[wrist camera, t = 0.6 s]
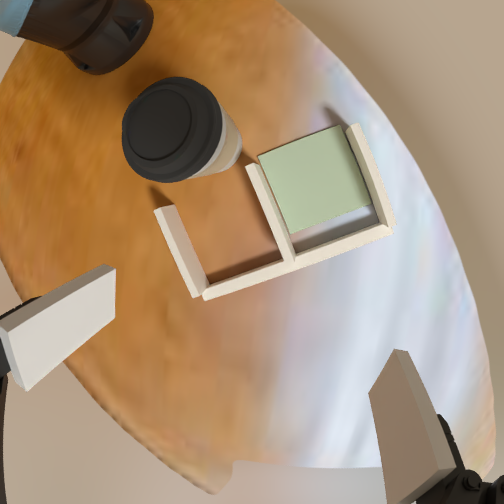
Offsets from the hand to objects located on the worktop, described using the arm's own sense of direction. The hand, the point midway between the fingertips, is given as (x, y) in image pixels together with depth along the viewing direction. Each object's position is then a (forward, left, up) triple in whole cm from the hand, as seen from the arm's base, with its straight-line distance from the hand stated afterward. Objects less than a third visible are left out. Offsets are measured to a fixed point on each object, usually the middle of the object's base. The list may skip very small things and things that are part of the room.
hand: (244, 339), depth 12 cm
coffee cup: (-14, -3, -24) cm, 27 cm away
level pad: (-6, +6, -23) cm, 25 cm away
